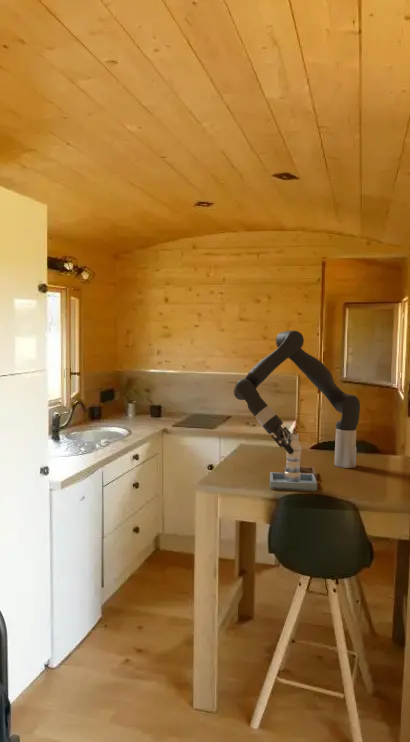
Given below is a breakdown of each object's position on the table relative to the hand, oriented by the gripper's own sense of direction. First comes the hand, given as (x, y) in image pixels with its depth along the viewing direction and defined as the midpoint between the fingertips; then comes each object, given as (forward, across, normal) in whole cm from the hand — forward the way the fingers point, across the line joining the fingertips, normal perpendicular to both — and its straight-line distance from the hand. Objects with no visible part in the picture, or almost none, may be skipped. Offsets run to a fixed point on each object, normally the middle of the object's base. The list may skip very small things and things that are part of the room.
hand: (295, 450), depth 225 cm
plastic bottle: (+9, 0, +10) cm, 14 cm away
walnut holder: (+9, +16, +11) cm, 21 cm away
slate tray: (+10, 0, +10) cm, 14 cm away
